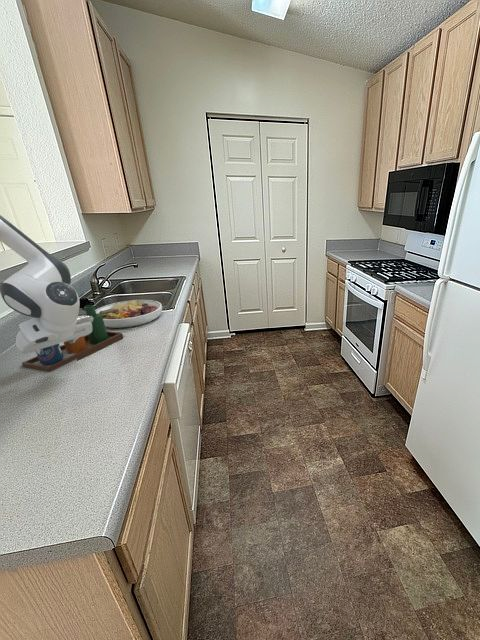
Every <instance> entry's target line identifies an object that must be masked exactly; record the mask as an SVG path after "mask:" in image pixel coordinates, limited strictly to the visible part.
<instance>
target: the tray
mask: <svg viewBox="0 0 480 640" xmlns="http://www.w3.org/2000/svg"><path fill="white" fill-rule="evenodd" d="M107 334H108V337H109V339H106V340H104V341H102V342H100V343H98V344H91V343H90V340H89V337H88V335H85V336H84V338H85V341H86V344H87V347H88V348H87V349H85V350H83V351H81V352H79V353H76V354H71V355H70V356H68V357H66V358H63V360H61V361H59V362H57V363H55V364H53V365H43V364H38V362H40V361H39V359H38V356H37V355H36V356H34V357H32V358H29V359H27V360H24V361H22V362H21V365H22V367H24V368H29V369H33V370H34V369H35V370H39V371H45V372H52V371H54V370H56V369H59V368H60V367H62V366H64V365H66V364H68V363H70V362H71V363H72V361H75V360H76V362H78V361H80V360H82V359H84V358H86V357H89V356H91V355H92V354H95V353H97V352H98V351H101V350H103V349H105V348H107V347H109V346H111V345H113V344H115V343H118V342H119V341H121V340H124V336H123V332H116V331H110V330H107ZM59 346H60V348H61V351H62V352H63V351H64V350H66V348H65V345H64V344H62V345H59ZM36 362H37V363H36Z"/></svg>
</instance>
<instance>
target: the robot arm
mask: <svg viewBox="0 0 480 640" xmlns="http://www.w3.org/2000/svg"><path fill="white" fill-rule="evenodd" d="M0 242H1V243H3V244H4V245H5V246H6V247H8V248H9V249H11V250H12V251H13V252H14V253H16V254H17V255H18V256H20V257H21V258H22V259H24V260H25V261H26V262H27V265H25V266H24V267H22V268H21V269H19V270H18V271H17V272H15V273H13V274H12V275H11V276H9V277H8V278H6V279H5V280H3V282H1V283H0V296H1V298H2V300H3V302H4V303H5V304H6V305H7V306H8V308H10V309H12V310H13V311H15V312H16V313H18V314H21V315H23V316H26V317H30V319H27V320H26V321H23V322H21V323H19V324H18V327H19V331H18V332H17V334H16V337H15V346H16V347H17V349H18V351H19V352H20V353H21V354H22V355H23V354H24V355H27V354H30V353H33V352H35V353H36V352H37V354H40V353H43V348H46V347H50V346H53V345H56V344H59V345H60V344H62V343H64V342H66V341H68V342H69V343H70V344H72V343H75V340H77V339H78V338H79V337H82V336H85V335H88V334H90V333H91V332H92V324H91V323H92V322H93V317H92V316H86V315H81V316H79V312H80V304H81V303H80V297H79V295H78V292H77V291H76V289H75V288H74V287H73V286H72V285H71V281H72V276H71V272H70V268H69V267H68V266H67V264H66V263H64V262H63V261H62V260H61V259H59V258H58V257H56V256H54V255H53V254H51V253H49V252H48V251H47V250H45V249H44V248H43V247H41V246H40V245H39V244H37V242H35V241H34V240H33V239H32V238H30V237H29V236H28V235H26V234H25V233H24V232H23V231H21V230H20V229H19V228H18V227H17V226H15V225H13V223H12V222H10V221H9V220H8V219H6V218H5V217H3V216H2V215H1V214H0ZM37 354H36V355H37Z"/></svg>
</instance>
